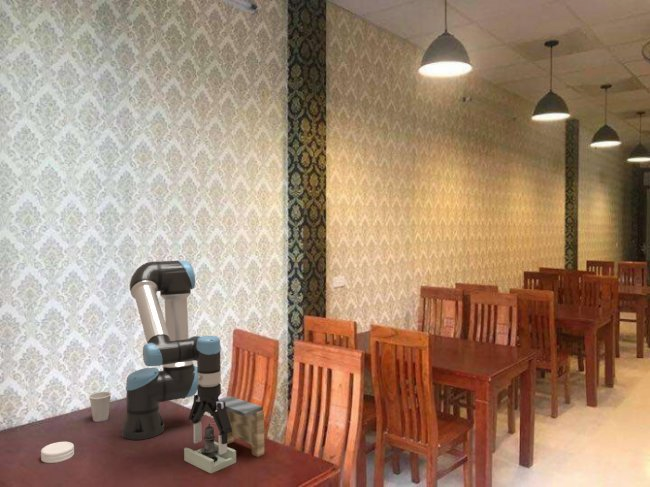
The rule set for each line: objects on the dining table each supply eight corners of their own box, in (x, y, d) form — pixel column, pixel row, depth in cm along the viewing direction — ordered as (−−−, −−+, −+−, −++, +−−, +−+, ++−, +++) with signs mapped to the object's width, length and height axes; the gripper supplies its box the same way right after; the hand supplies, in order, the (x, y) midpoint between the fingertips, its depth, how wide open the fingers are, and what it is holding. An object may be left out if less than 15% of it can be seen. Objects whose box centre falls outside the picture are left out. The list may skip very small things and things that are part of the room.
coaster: (80, 454, 177) (80, 444, 177) (52, 466, 169) (52, 455, 169) (62, 448, 182) (62, 438, 182) (34, 459, 174) (34, 449, 174)
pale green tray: (184, 460, 172) (184, 448, 172) (209, 450, 180) (209, 439, 180) (210, 473, 163) (210, 461, 162) (236, 462, 170) (236, 450, 170)
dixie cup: (84, 421, 208) (84, 397, 207) (99, 414, 216) (99, 390, 215) (102, 423, 205) (101, 398, 205) (116, 416, 213) (115, 392, 213)
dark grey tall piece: (214, 464, 168) (213, 427, 167) (197, 462, 169) (197, 426, 169) (221, 456, 173) (221, 421, 173) (205, 455, 175) (204, 420, 174)
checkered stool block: (211, 446, 183) (210, 401, 183) (228, 439, 189) (228, 395, 189) (246, 461, 171) (245, 413, 170) (264, 453, 177) (263, 407, 176)
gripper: (177, 379, 176) (178, 441, 176) (223, 394, 159) (224, 462, 160) (196, 374, 181) (197, 434, 182) (242, 388, 165) (243, 454, 166)
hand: (209, 447), depth 171 cm, fingers open, 13 cm apart
